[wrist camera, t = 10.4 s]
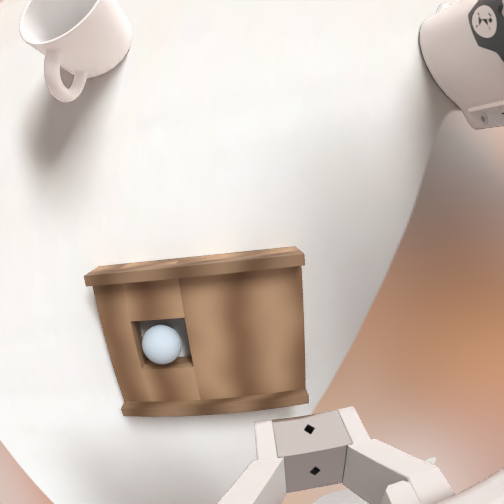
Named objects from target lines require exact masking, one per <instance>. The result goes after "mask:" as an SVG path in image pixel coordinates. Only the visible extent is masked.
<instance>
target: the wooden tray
mask: <svg viewBox="0 0 504 504" xmlns="http://www.w3.org/2000/svg"><path fill="white" fill-rule="evenodd" d="M302 265H305V258H304V253H303V252H301V251H300V250H299V249H298V248H296V247H295V246H294V247H284V248H274V249H264V250H255V251H245V252H235V253H225V254H215V255H205V256H196V257H186V258H176V259H166V260H157V261H147V262H137V263H127V264H118V265H108V266H99V267H97V268H96V269H94V270H93V271H91V272H89V273H88V274H86V275H85V276H84V279H85V284H86V286H93V289H94V294H95V299H96V303H97V308H98V312H99V316H100V320H101V324H102V328H103V332H104V336H105V340H106V343H107V347H108V351H109V354H110V358H111V361H112V364H113V368H114V371H115V374H116V377H117V380H118V384H119V387H120V390H121V393H122V395H123V398H124V404H123V406H122V408H121V410H122V413H123V415H124V416H149V417H159V416H196V415H213V414H227V413H238V412H248V411H257V410H265V409H273V408H280V407H287V406H294V405H300V404H306V403H309V396H308V393H307V391H306V388H305V342H304V312H303V289H302V269H301V266H302ZM174 318H185V323H186V328H187V334H188V340H189V345H190V350H191V356H188V357H177V358H176V359H175V360H174V361H172V362H170V363H167V364H157V363H155V362H153V361H151V360H150V359H147V356H146V355H145V353H144V351H143V348H142V336H141V331H140V327H139V322H138V321H145V320H160V319H174Z"/></svg>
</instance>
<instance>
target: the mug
mask: <svg viewBox="0 0 504 504" xmlns="http://www.w3.org/2000/svg"><path fill="white" fill-rule="evenodd" d="M19 28H20V34H21V37H22V39H23V40H24V41H25V42H26V43H28V44H29V45H31V46H32V47H34V48H35V49H36V50H38V51H39V52H41V53H42V54H44V55H45V61H44V76H45V81H46V84H47V87H48V89H49V91H50V93H51V94H52V95H53V96H54V97H55V98H56V99H57V100H59V101H61V102H70V101H73V100H75V99H76V98H77V97H78V96H79V95H80V94H81V92H82V90H83V88H84V86H85V83H86V80H87V78H91V77H96V76H99V75H102V74H104V73H106V72H108V71H109V70H111V69H112V68H114V67H115V66H116V65H117V64H118V63H119V62H120V61H121V60H122V59H123V58H124V56H125V55H126V53H127V52H128V50H129V48H130V45H131V42H132V29H131V25H130V23H129V21H128V19H127V17H126V16H125V14H124V12H123V11H122V9H121V7H120V6H119V4H118V2H117V0H30V1H29V2H28V4H27V6H26V7H25V9H24V11H23V14H22V16H21V20H20V26H19ZM60 66H61V67H62V68H64V69H65V70H66V71H68V72H69V73H71V74H73V75H74V79H73V82H72V85H71V87H70V88H69V89H67V88H66V87H65V86H64V84H63V83H62V80H61V77H60Z"/></svg>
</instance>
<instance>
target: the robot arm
mask: <svg viewBox="0 0 504 504" xmlns="http://www.w3.org/2000/svg"><path fill="white" fill-rule="evenodd" d="M420 45H421V50H422V54H423V57H424V60H425V62H426V64H427V67H428V69H429V71H430V72H431V74H432V76H433V78H434V79H435V81H436V82H437V84H438V85H439V86H440V88H441V89H442V90H443V91H444V93H445V94H446V95H447V96H448V97H449V98H450V99H451V100H452V101H453V102H454V103H455V104H457V105H458V107H459V108H460V109H461V110H462V112H463V114H464V116H465V117H466V119H467V121H468V122H469V124H470V125H471V127H472V128H474V129H484V128H492V127H499V126H504V0H458V1H456V2H455V3H453V4H451V3H449V2H444V3H442V4H440V5H439V7H438V10H437V13H436V14H434V15H432V16H430V17H428V18H427V19H426V20H425V21H424V22H423V24H422V26H421V29H420ZM254 427H255V439H256V451H257V460H256V461H252V462H251V463H250V464H249V466H248V467H247V468H246V469H245V471H244V472H243V473H242V474H241V476H240V477H239V478H238V479H237V481H236V482H235V483H234V484H233V485H232V487H231V488H230V489H229V490H228V491H227V493H226V494H225V495H224V496H223V497H222V498H221V500H220V501H219V502H218V503H217V504H281V503H282V501H283V499H284V498H285V495H286V493H289V492H294V491H300V490H306V489H311V488H316V487H322V486H328V485H333V484H338V483H343V485H345V486H346V487H347V488H349V489H350V490H351V491H353V492H354V493H355V494H357V495H358V496H359V497H361V498H362V499H363V500H365V501H366V502H368V503H369V504H504V467H503V468H502V469H500V470H499V471H497V472H496V473H494V474H492V475H490V476H489V477H487V478H485V479H484V480H482V481H480V482H478V483H477V484H475V485H473V486H471V487H469V488H467V489H465V490H463V491H461V492H460V493H457V494H455V493H454V491H453V490H452V488H451V487H450V485H449V484H448V482H447V481H446V479H445V478H444V476H443V474H442V473H441V471H440V470H439V468H438V467H437V466H435V465H433V464H430V463H428V462H426V461H423V460H421V459H419V458H417V457H414V456H412V455H410V454H407V453H405V452H403V451H401V450H399V449H397V448H394V447H392V446H390V445H388V444H386V443H384V442H382V441H380V440H377V439H372V440H371V439H370V437H369V435H368V433H367V431H366V429H365V427H364V425H363V423H362V421H361V419H360V417H359V415H358V413H357V411H356V410H355V408H354V407H353V406H350V407H346V408H342V409H337V410H333V411H329V412H323V413H318V414H312V415H307V416H301V417H293V418H285V419H276V420H272V421H271V420H270V421H258V422H255V424H254Z"/></svg>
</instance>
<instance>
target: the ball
mask: <svg viewBox="0 0 504 504" xmlns="http://www.w3.org/2000/svg"><path fill="white" fill-rule="evenodd" d="M142 348H143V351H144V353H145V355H146V356H147V358H148V359H150V360H151V361H153V362H155V363H157V364H167V363H170V362H172V361H174V360H175V359H176V358H177V357H178V355H179V353H180V351H181V339H180V337H179V335H178V333H177V332H176V331H175V330H174V329H172V328H171V327H169V326H166V325H155V326H153V327H151V328H149V329H148V330H147V331H146V332H145V334H144V336H143V339H142Z"/></svg>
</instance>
